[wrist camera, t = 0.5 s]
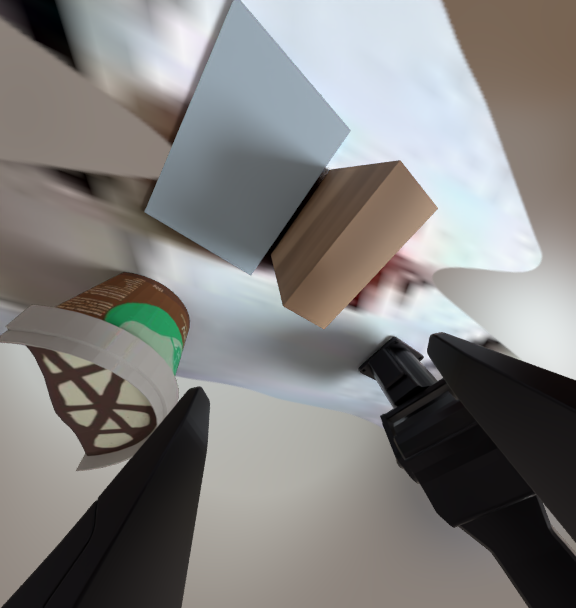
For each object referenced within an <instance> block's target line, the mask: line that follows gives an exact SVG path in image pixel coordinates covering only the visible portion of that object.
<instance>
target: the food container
mask: <svg viewBox="0 0 576 608" xmlns="http://www.w3.org/2000/svg"><path fill="white" fill-rule="evenodd" d="M6 327H7V329H8V331H6V332H5V333H3V334H2V335H0V342H1V343H13V344H22V345H26V346H27V348H28V349H29V350H30V351H31V353H32V354H33V355H34V357H35V359H36V361H37V363H38V365H39V367H40V369H41V371H42V373H43V376H44V378H45V382H46V385H47V389H48V392H49V396H50V399H51V402H52V405H53V408H54V410H55V412H56V414H57V415H58V416H59V417H60V418H61V420H62V421H63V422H64V423H65V424H67V425H68V426H69V427H70V428H71V429H72V431H73V432H74V433H75V434H76V436H77V437H78V439H79V441H80V443H81V445H82V447H83V449H84V451H85V455H84V457H83V459H82V461H81V462H80V464H79V466H78V468H77V470H76V471H84V470H92V469H98V468H103V467H107V466H110V465H115V464H118V463H121V462H123V461H126V460H128V459H130V458H132V457H133V455H134V454H135V453H136V452H137V451H138V449H139V448H140V447H141V446H142V445H143V443H144V442H145V441H146V440H147V439H148V437H149V436H150V435H151V434H152V433H153V431H154V430H155V429H156V428H157V427H158V425H159V424H160V423H161V422H162V421H163V419H164V418H165V417H166V416H167V415H168V413H169V412H170V411H171V410H172V409H173V407H174V406H175V405H176V404H177V402H178V398H179V388H178V384H177V380H176V378H175V375H176V371H177V368H178V365H179V361H180V358H181V354H182V351H183V348H184V344H185V341H186V337H187V334H188V331H189V327H190V320H189V315H188V312H187V309H186V307H185V306H184V304H183V302H182V301H181V300H180V299H179V298H178V296H176V295H175V294H174V293H173V292H172V291H171V290H170V289H168V288H167V287H165V286H164V285H162V284H160V283H159V282H157V281H155V280H152V279H150V278H147V277H145V276H141V275H138V274H133V273H127V272H123V273H121V274H119V275H117V276H115V277H113V278H111V279H109V280H107V281H105V282H103V283H101V284H99V285H97V286H95V287H93V288H91V289H89V290H87V291H85V292H83V293H82V294H80V295H78V296H76V297H74V298H72V299H70V300H68V301H66V302H64V303H62V304H60V305H58V306H56V307H48V306H39V305H31V306H30V307H28V308H27V309H26V310H25V311H23V312H22V313H21V314H20V315H19V316H17V317H16V318H15V319H14V320H13V321H11V322H10V323H9V324H8V325H7V326H6Z"/></svg>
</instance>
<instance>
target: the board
mask: <svg viewBox="0 0 576 608" xmlns="http://www.w3.org/2000/svg"><path fill="white" fill-rule="evenodd" d="M350 131H351V130H350V129H349V128H348V127H347V125H346V124H345V123H344V122H343V121H342V120H341V118H340V117H339V116H338V115H337V114H336V112H335V111H334V110H333V109H332V108H331V107H330V105H329V104H328V103H327V102H326V101H325V99H324V98H323V97H322V96H321V95H320V94H319V92H318V91H317V90H316V89H315V88H314V87H313V85H312V84H311V83H310V82H309V81H308V79H307V78H306V77H305V76H304V75H303V74H302V72H301V71H300V70H299V69H298V68H297V66H296V65H295V64H294V63H293V62H292V61H291V59H290V58H289V57H288V56H287V55H286V53H285V52H284V51H283V50H282V49H281V48H280V46H279V45H278V44H277V43H276V42H275V40H274V39H273V38H272V37H271V36H270V35H269V33H268V32H267V31H266V30H265V29H264V27H263V26H262V25H261V24H260V23H259V22H258V20H257V19H256V18H255V17H254V16H253V14H252V13H251V12H250V11H249V10H248V9H247V7H246V6H245V5H244V4H243V3H242V2H241V0H233V2H232V4H231V7H230V9H229V12H228V14H227V16H226V19H225V21H224V24H223V26H222V28H221V31H220V33H219V35H218V38H217V40H216V43H215V45H214V47H213V50H212V52H211V55H210V57H209V59H208V62H207V64H206V66H205V69H204V71H203V74H202V76H201V78H200V81H199V83H198V86H197V88H196V90H195V93H194V95H193V97H192V100H191V102H190V105H189V107H188V109H187V112H186V114H185V117H184V119H183V121H182V124H181V126H180V128H179V131H178V133H177V136H176V138H175V140H174V143H173V145H172V148H171V150H170V152H169V155H168V157H167V159H166V162H165V164H164V167H163V170H162V171H161V174H160V176H159V179H158V181H157V183H156V186H155V188H154V190H153V193H152V195H151V198H150V200H149V202H148V205H147V207H146V210H145V213H147V214H149V215H150V216H152V217H154V218H155V219H157V220H159V221H160V222H162V223H164V224H165V225H167V226H169V227H170V228H172V229H174V230H175V231H177V232H179V233H180V234H182V235H184V236H186V237H187V238H189V239H191V240H192V241H194V242H196V243H197V244H199V245H201V246H202V247H204V248H206V249H207V250H209V251H211V252H212V253H214V254H216V255H217V256H219V257H221V258H222V259H224V260H226V261H227V262H229V263H231V264H232V265H234V266H236V267H238V268H239V269H241V270H243V271H244V272H246V273H248V274H249V275H251V274H252V273H253V272H254V270H255V269H256V267H257V266H258V264H259V263H260V261H261V260H262V259H263V257H264V256H265V254H266V253H267V251H268V250H269V248H270V247H271V245H272V244H273V243H274V241H275V240H276V238H277V237H278V235H279V234H280V232H281V231H282V230H283V228H284V227H285V225H286V224H287V222H288V221H289V219H290V218H291V216H292V215H293V214H294V212H295V211H296V209H297V208H298V206H299V205H300V203H301V202H302V200H303V199H304V198H305V196H306V195H307V193H308V192H309V190H310V189H311V187H312V186H313V185H314V183H315V182H316V180H317V179H318V177H319V176H320V174H321V173H322V171H323V170H324V169H325V167H326V166H327V164H328V163H329V161H330V160H331V158H332V157H333V156H334V154H335V153H336V151H337V150H338V148H339V147H340V145H341V144H342V142H343V141H344V140H345V138H346V137H347V135H348V134H349V132H350Z"/></svg>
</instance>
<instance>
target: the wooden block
mask: <svg viewBox="0 0 576 608" xmlns="http://www.w3.org/2000/svg"><path fill="white" fill-rule="evenodd" d="M437 209H438V208H437V206H436V205H435V204H434V203H433V201H432V200H431V199H430V198H429V196H428V195H427V194H426V192H425V191H424V190H423V189H422V187H421V186H420V185H419V183H418V182H417V181H416V180H415V178H414V177H413V176H412V175H411V173H410V172H409V171H408V169H407V168H406V167H405V166H404V164H403V163H402V162H401V161H400V160H399V161H391V162H384V163H377V164H369V165H362V166H354V167H347V168H339V169H332V170H330V171H329V172H328V173H327V175H326V176H325V178H324V179H323V181H322V182H321V183H320V185H319V186H318V188H317V189H316V191H315V192H314V193H313V195H312V196H311V198H310V199H309V201H308V202H307V203H306V205H305V206H304V208H303V209H302V211H301V212H300V213H299V215H298V216H297V218H296V219H295V221H294V222H293V223H292V225H291V226H290V228H289V229H288V231H287V232H286V233H285V235H284V236H283V238H282V239H281V241H280V242H279V244H278V245H277V246H276V248H275V249H274V251H273V252H272V254H271V258H272V262H273V266H274V270H275V274H276V279H277V283H278V287H279V291H280V295H281V300H282V304H283V306H284V307H286V308H287V309H289V310H291V311H293V312H294V313H296V314H298V315H300V316H301V317H303V318H305V319H307V320H308V321H310V322H312V323H314V324H315V325H317V326H319V327H321V328H322V329H325V328H326V327H327V326H328V325H329V324H330V323H331V322H332V321H333V320H334V319H335V317H336V316H337V315H338V314H339V313H340V312H341V311H342V310H343V309H344V308H345V307H346V306H347V305H348V304H349V303H350V302H351V300H352V299H353V298H354V297H355V296H356V295H357V294H358V293H359V292H360V291H361V290H362V289H363V288H364V287H365V286H366V285H367V283H368V282H369V281H370V280H371V279H372V278H373V277H374V276H375V275H376V274H377V273H378V272H379V271H380V270H381V269H382V268H383V266H384V265H385V264H386V263H387V262H388V261H389V260H390V259H391V258H392V257H393V256H394V255H395V254H396V253H397V252H398V251H399V249H400V248H401V247H402V246H403V245H404V244H405V243H406V242H407V241H408V240H409V239H410V238H411V237H412V236H413V235H414V234H415V232H416V231H417V230H418V229H419V228H420V227H421V226H422V225H423V224H424V223H425V222H426V221H427V220H428V219H429V218H430V217H431V216H432V214H433V213H434V212H435V211H436V210H437Z"/></svg>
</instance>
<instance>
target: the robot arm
mask: <svg viewBox="0 0 576 608" xmlns="http://www.w3.org/2000/svg"><path fill="white" fill-rule="evenodd" d="M427 353H428V355H429V357H430V359H431V360H432V362H433V363H434V365H435V366H436V368H437V369H438V371H439V372H440V374H441V375H442V377H443V378H442V379H441V380H439V381H437V380H436V379H435V377H434V376H433V375H432V374H431V373H430V372H429V371H428V370H427V369H426V368H425V367H424V366H423V364H422V363H421V362H420V361H421V360H422V359H423V358H424V357H423V355H422V354H421V353H419V352H418V351H416V350H415V349H413V348H412V347H410V346H409V345H407V344H406V343H404V342H403V341H401V340H400V339H398V338H397V337H394V338H392V339H391V340H390V341H389V342H387V343H386V344H385V345H384V346H383V347H382V348H381V349H380V350H378V351H377V352H376V353H375V354H374V355H373V356H372V357H371V358H370V359H368V360H367V361H366V362H365V363H364V364H363V365H362V366H361V367H360V368H359V371H360V372H361V373H362V374H364V375H366V376H368V377H370V378H372V379H374V380H376V381H377V382H378V384H379V385H380V387H381V389H382V390H383V392H384V394H385V395H386V397H387V398H388V400H389V402H390V403H391V405H392V407H393V408H394V409H392V410H391V411H389V412H387V413H386V414H382V415H381V416H380V417H381V420H382V422H383V423H382V424H383V427H384V429H385V432H386V434H387V437H388V439H389V442H390V444H391V447H392V449H393V452H394V455H395V457H396V461H397V464H398V465H399V467H400V468H402V469H404V470H405V471H406V472H407V473H408V474H409V476H410V477H411V478H412V479H413V480H414V481H415V482H416V483H418V484H420V485H421V486H422V488H423V490H424V491H425V493H426V495H427V496H428V498H429V500H430V502H431V504H432V505H433V507H434V509H435V511H436V512H437V513H438V515H440V517H442V518H443V519H444V520H445V521H446V522H447V523H448V524H449V525H450V526H452V527H454V528H455V527H457V526H458V527H460V528H461V529H462V530H464V531H465V532H466V533H467V534H469V535H470V536H471V537H472V538H474V539H475V540H476V541H478V542H479V543H480V544H481V545H483V546H484V547H485V548H486V549H488V550H489V551H490V552H491V553H492V555H493V556H494V557H495V559H496V560H497V562H498V563H499V565H500V566H501V567H502V569H503V570H504V572H505V573H506V575H507V576H508V578H509V579H510V581H511V582H512V584H513V585H514V587H515V588H516V590H517V591H518V593H519V594H520V596H521V597H522V598H523V600H524V601H525V603H526V604H527V606H528V607H529V608H576V553H575V551H574V550H573V549H572V548H571V547H570V546H569V544H568V543H567V542H566V541H565V540H564V539H563V538H562V536H561V535H560V534H559V533H558V532H557V531H556V530H555V528H554V527H553V526H552V525H551V524H550V521H549V519H548V516H547V513H546V510H545V508H544V505H543V503H544V504H545V506H546V507H547V508H548V509H549V510H550V512H551V513H552V514H553V515H554V517H555V518H556V519H557V520H558V522H559V523H560V524H561V525H562V526H563V528H564V529H565V530H566V531H567V533H568V534H569V535H570V536H571V538H572V539H573V540H574V541H575V542H576V380H573V379H570V378H568V377H565V376H562V375H559V374H557V373H554V372H551V371H548V370H546V369H543V368H540V367H537V366H535V365H532V364H529V363H526V362H524V361H521V360H518V359H515V358H513V357H510V356H507V355H504V354H502V353H499V352H496V351H493V350H491V349H488V348H485V347H482V346H480V345H477V344H474V343H471V342H469V341H466V340H463V339H460V338H458V337H455V336H452V335H449V334H447V333H443V332H440V333H435V334H432V335H431V336H430V338H429V343H428V348H427ZM209 413H210V401H209V399H208V397H207V395H206V393H205V392H204V390H203V389H202V387H194V388H191V389H189V390H188V391H187V392H186V393H185V394H184V396H183V397H182V398H181V399H180V400H179V402H178V403H177V404H176V405H175V406H174V407H173V409H172V410H171V411H170V412H169V413H168V415H167V416H166V417H165V418H164V419H163V421H162V422H161V423H160V424H159V425H158V427H157V428H156V429H155V430H154V431H153V433H152V434H151V435H150V436H149V437H148V439H147V440H146V441H145V442H144V443H143V445H142V446H141V447H140V448H139V449H138V451H137V452H136V453H135V454H134V455H133V457H132V458H131V459H130V460H129V461H128V463H127V464H126V465H125V466H124V468H123V469H122V470H121V471H120V472H119V473H118V475H117V476H116V477H115V478H114V479H113V481H112V482H111V483H110V484H109V485H108V486H107V488H106V489H105V490H104V491H103V492H102V494H101V495H100V496H99V497H98V500H97V501H95V502H94V503H93V504H92V505H91V507H90V508H89V509H88V510H87V512H86V513H85V514H84V515H83V516H82V517H81V519H80V520H79V521H78V522H77V523H76V524H75V526H74V527H73V528H72V529H71V530H70V531H69V533H68V534H67V535H66V536H65V537H64V538H63V540H62V541H61V542H60V543H59V544H58V545H57V547H56V548H55V549H54V550H53V551H52V552H51V553H50V554H49V555H48V556H47V558H46V559H45V560H44V561H43V562H42V563H41V564H40V565H39V567H38V568H37V569H36V570H35V571H34V572H33V573H32V574H31V575H30V577H29V578H28V579H27V580H26V581H25V582H24V583H23V585H21V586H20V588H19V589H18V590H17V591H16V592H15V593H14V594H13V595H12V596H11V597H10V599H9V600H8V601H7V602H6V603H5V604H4V605H3V606H2V607H1V608H181V607H182V600H183V594H184V587H185V581H186V575H187V569H188V563H189V557H190V551H191V545H192V539H193V533H194V527H195V521H196V515H197V508H198V502H199V496H200V490H201V484H202V478H203V471H204V465H205V459H206V453H207V444H208V428H209Z"/></svg>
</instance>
